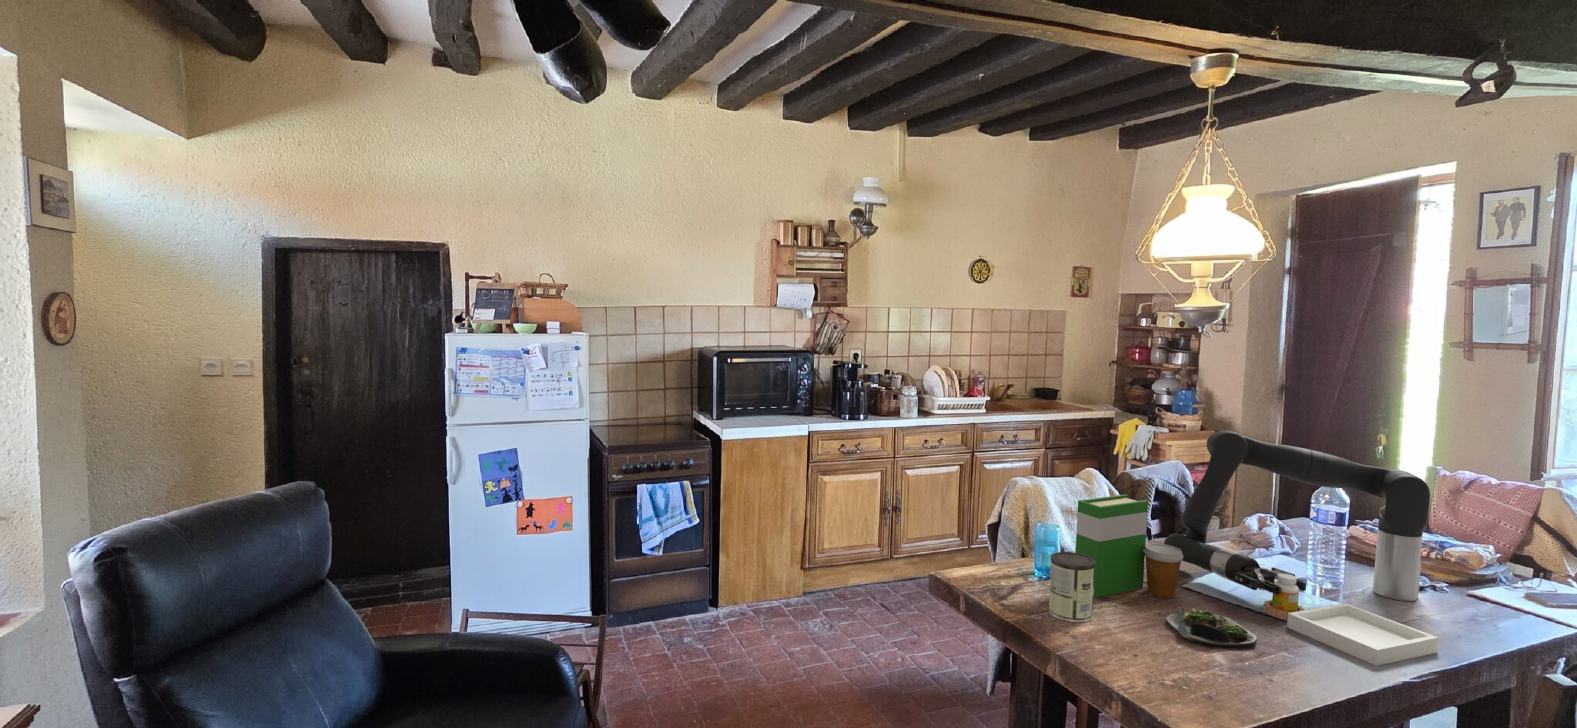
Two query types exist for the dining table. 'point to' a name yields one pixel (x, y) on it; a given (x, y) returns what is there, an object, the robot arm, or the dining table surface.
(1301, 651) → the dining table surface
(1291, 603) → the supplement bottle
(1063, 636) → the dining table surface
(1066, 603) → the coffee can
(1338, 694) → the dining table surface
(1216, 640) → the salad plate
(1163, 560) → the disposable coffee cup
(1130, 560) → the hardback book
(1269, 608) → the cup holder
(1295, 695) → the dining table surface
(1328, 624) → the tray
